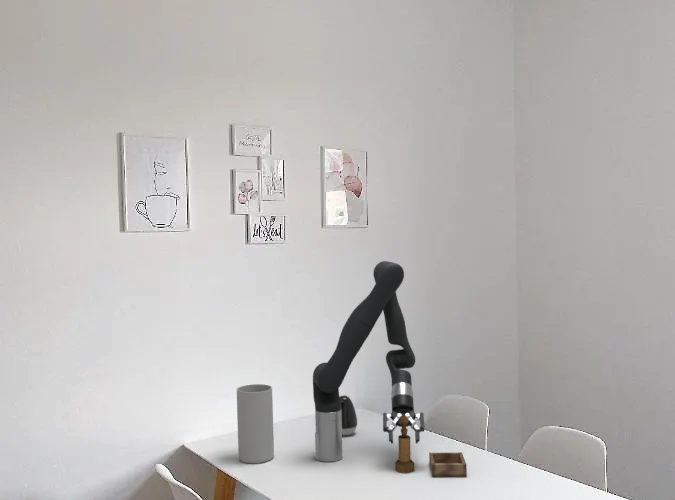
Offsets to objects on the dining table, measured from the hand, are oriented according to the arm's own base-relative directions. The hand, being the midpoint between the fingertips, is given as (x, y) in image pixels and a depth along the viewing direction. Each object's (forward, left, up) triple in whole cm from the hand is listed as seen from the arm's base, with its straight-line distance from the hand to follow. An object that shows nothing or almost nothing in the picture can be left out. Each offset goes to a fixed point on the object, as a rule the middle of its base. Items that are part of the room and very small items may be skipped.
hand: (404, 442), depth 227 cm
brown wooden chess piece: (0, +1, -10) cm, 10 cm away
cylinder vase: (-52, +13, -10) cm, 55 cm away
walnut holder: (+14, 0, -10) cm, 17 cm away
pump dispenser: (-22, +41, -10) cm, 48 cm away
